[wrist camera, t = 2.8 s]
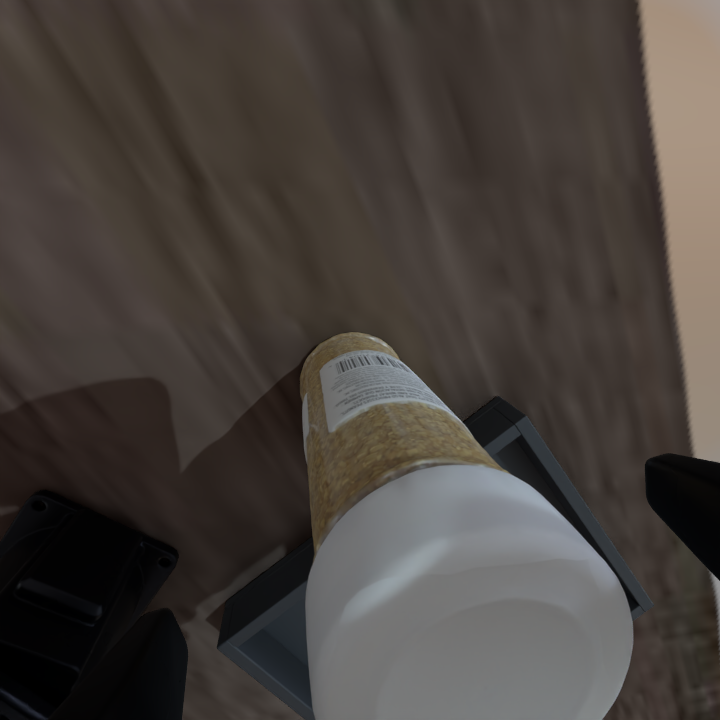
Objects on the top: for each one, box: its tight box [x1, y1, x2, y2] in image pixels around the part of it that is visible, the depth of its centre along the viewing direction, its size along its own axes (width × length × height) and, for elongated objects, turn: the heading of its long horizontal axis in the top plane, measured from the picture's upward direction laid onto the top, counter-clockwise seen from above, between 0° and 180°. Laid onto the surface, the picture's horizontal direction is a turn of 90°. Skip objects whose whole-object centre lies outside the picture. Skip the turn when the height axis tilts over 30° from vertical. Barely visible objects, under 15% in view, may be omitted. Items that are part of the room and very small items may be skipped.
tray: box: [217, 396, 654, 720], centre depth 20 cm, size 16×13×2 cm
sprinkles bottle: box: [300, 332, 633, 720], centre depth 12 cm, size 5×5×14 cm
